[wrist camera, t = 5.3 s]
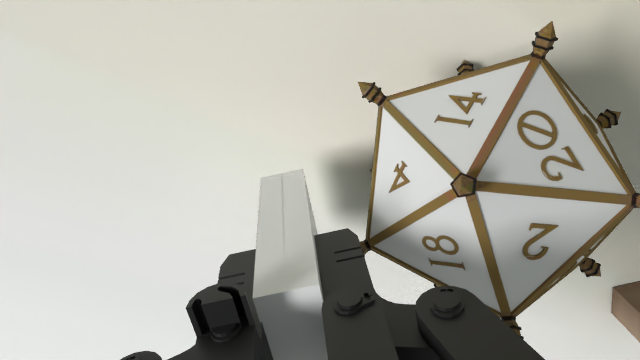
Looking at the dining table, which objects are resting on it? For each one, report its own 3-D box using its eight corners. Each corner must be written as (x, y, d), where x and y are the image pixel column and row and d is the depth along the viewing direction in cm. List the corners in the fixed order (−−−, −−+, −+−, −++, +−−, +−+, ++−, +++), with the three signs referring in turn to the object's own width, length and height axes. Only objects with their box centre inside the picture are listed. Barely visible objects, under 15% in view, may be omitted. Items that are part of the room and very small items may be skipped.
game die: (375, 103, 22) (256, 48, 12) (589, 41, 18) (639, -97, 9) (417, 304, 21) (323, 403, 12) (648, 279, 17) (769, 392, 8)
